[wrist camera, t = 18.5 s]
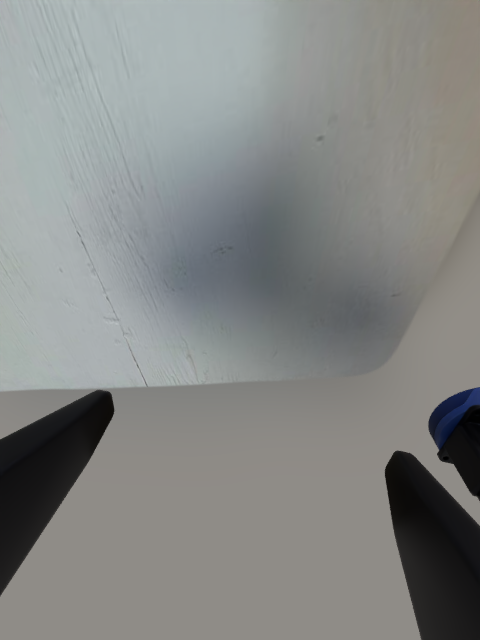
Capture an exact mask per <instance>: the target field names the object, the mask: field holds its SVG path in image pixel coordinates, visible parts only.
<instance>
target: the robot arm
mask: <svg viewBox="0 0 480 640" xmlns="http://www.w3.org/2000/svg"><path fill="white" fill-rule="evenodd" d="M113 414H114V405H113V400H112V395H111V393H110V392H108V391H103V390H96V391H95V392H92V393H90V394H88V395H86V396H84V397H82V398H81V399H78V400H76V401H74V402H73V403H71V404H69V405H67V406H65V407H63V408H61V409H59V410H57V411H55V412H53V413H51V414H49V415H47V416H45V417H43V418H41V419H39V420H37V421H35V422H34V423H32V424H30V425H28V426H26V427H24V428H22V429H20V430H18V431H16V432H14V433H12V434H10V435H8V436H6V437H4V438H2V439H0V595H1V594H2V593H3V591H4V589H5V588H6V587H7V585H8V583H9V582H10V580H11V579H12V577H13V576H14V574H15V573H16V571H17V570H18V568H19V567H20V565H21V564H22V562H23V561H24V559H25V558H26V556H27V555H28V553H29V552H30V550H31V548H32V547H33V546H34V544H35V542H36V541H37V539H38V538H39V536H40V535H41V533H42V532H43V530H44V529H45V527H46V526H47V524H48V523H49V521H50V520H51V518H52V517H53V515H54V514H55V512H56V511H57V509H58V507H59V506H60V504H61V503H62V501H63V500H64V498H65V497H66V495H67V494H68V492H69V491H70V489H71V488H72V486H73V485H74V483H75V482H76V480H77V479H78V477H79V475H80V474H81V472H82V471H83V469H84V468H85V466H86V465H87V463H88V462H89V460H90V458H91V456H92V455H93V453H94V451H95V449H96V447H97V445H98V443H99V441H100V439H101V438H102V436H103V434H104V432H105V430H106V428H107V426H108V424H109V423H110V421H111V419H112V417H113ZM437 455H438V457H439V459H440V460H441V461H442V462H447V463H451V464H454V465H455V467H456V469H457V471H458V472H459V474H460V476H461V477H462V479H463V481H464V483H465V484H466V486H467V488H468V489H469V491H470V493H471V494H472V495H473V496H477V497H478V499H479V501H480V405H472V406H470V407H469V408H468V409H467V411H466V412H465V414H464V415H463V417H462V418H461V420H460V421H459V423H458V424H457V425H456V427H455V428H454V430H453V431H452V433H451V434H450V436H449V437H448V439H447V440H446V441H445V443H444V444H443V446H442V447H441V449H440V450H439V452H438V453H437ZM385 478H386V485H387V490H388V497H389V504H390V510H391V516H392V522H393V529H394V534H395V538H396V542H397V547H398V550H399V554H400V558H401V562H402V566H403V570H404V574H405V578H406V582H407V586H408V589H409V593H410V597H411V601H412V605H413V609H414V613H415V617H416V620H417V624H418V628H419V632H420V636H421V640H480V526H479V525H478V524H477V522H476V521H475V520H474V519H473V518H472V517H471V516H470V515H469V514H468V513H467V512H466V511H465V510H464V509H463V508H462V507H461V505H460V504H459V503H458V502H457V501H456V500H455V499H454V498H453V497H452V496H451V495H450V494H449V493H448V492H447V490H445V488H444V487H443V486H442V485H441V484H440V483H439V482H438V481H437V480H436V479H435V478H434V477H433V476H432V474H431V473H430V472H429V471H428V470H427V469H426V468H425V467H424V466H423V465H422V464H421V463H420V462H419V461H418V460H417V458H416V457H414V456H413V455H412V454H410V453H407V452H402V451H395V452H394V453H393V455H392V457H391V459H390V460H389V462H388V464H387V466H386V469H385Z"/></svg>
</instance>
